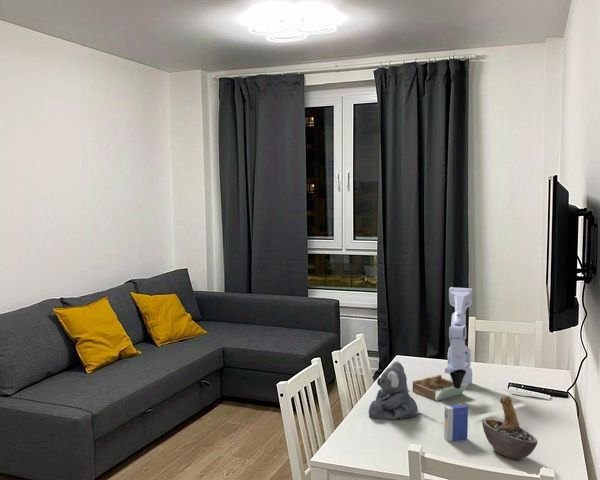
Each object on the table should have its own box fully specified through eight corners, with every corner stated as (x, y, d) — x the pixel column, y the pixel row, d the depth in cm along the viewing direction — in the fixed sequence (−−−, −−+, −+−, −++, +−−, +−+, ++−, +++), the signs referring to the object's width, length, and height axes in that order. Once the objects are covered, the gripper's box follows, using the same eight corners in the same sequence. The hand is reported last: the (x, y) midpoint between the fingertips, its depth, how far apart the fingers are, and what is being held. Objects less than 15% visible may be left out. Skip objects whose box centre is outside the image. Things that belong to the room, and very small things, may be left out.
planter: (481, 442, 206) (483, 385, 204) (533, 448, 201) (535, 390, 199) (481, 461, 191) (483, 400, 190) (537, 468, 187) (539, 406, 185)
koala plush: (376, 403, 243) (377, 356, 242) (420, 408, 237) (421, 360, 236) (366, 418, 227) (367, 368, 225) (414, 425, 221) (415, 373, 219)
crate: (439, 388, 262) (439, 374, 261) (460, 395, 252) (460, 382, 251) (412, 394, 253) (412, 381, 252) (433, 403, 243) (433, 389, 242)
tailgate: (458, 393, 251) (466, 382, 247) (460, 395, 250) (468, 384, 246) (435, 399, 243) (442, 388, 239) (436, 401, 242) (444, 390, 239)
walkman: (463, 436, 211) (464, 403, 210) (467, 439, 208) (468, 406, 207) (443, 438, 209) (443, 405, 208) (447, 441, 206) (447, 408, 205)
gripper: (459, 350, 249) (458, 382, 250) (438, 355, 240) (438, 389, 240) (473, 353, 244) (473, 386, 245) (453, 359, 234) (453, 393, 235)
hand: (457, 387), depth 242 cm, fingers closed, pressing on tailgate
